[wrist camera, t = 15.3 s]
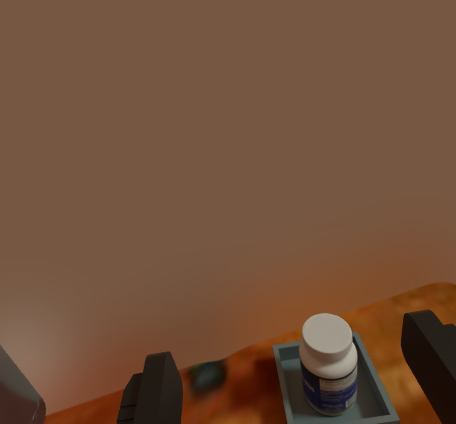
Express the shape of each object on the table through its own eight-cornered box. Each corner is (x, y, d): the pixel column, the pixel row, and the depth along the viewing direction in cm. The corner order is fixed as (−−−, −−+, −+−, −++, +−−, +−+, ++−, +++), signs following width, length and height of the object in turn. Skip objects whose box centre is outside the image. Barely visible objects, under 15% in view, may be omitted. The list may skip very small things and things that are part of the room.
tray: (292, 452, 33) (290, 436, 32) (275, 360, 42) (272, 345, 41) (397, 436, 33) (399, 420, 31) (357, 347, 42) (357, 331, 40)
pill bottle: (298, 372, 40) (291, 313, 35) (346, 365, 40) (346, 304, 35) (310, 422, 35) (304, 361, 30) (365, 414, 35) (368, 352, 30)
